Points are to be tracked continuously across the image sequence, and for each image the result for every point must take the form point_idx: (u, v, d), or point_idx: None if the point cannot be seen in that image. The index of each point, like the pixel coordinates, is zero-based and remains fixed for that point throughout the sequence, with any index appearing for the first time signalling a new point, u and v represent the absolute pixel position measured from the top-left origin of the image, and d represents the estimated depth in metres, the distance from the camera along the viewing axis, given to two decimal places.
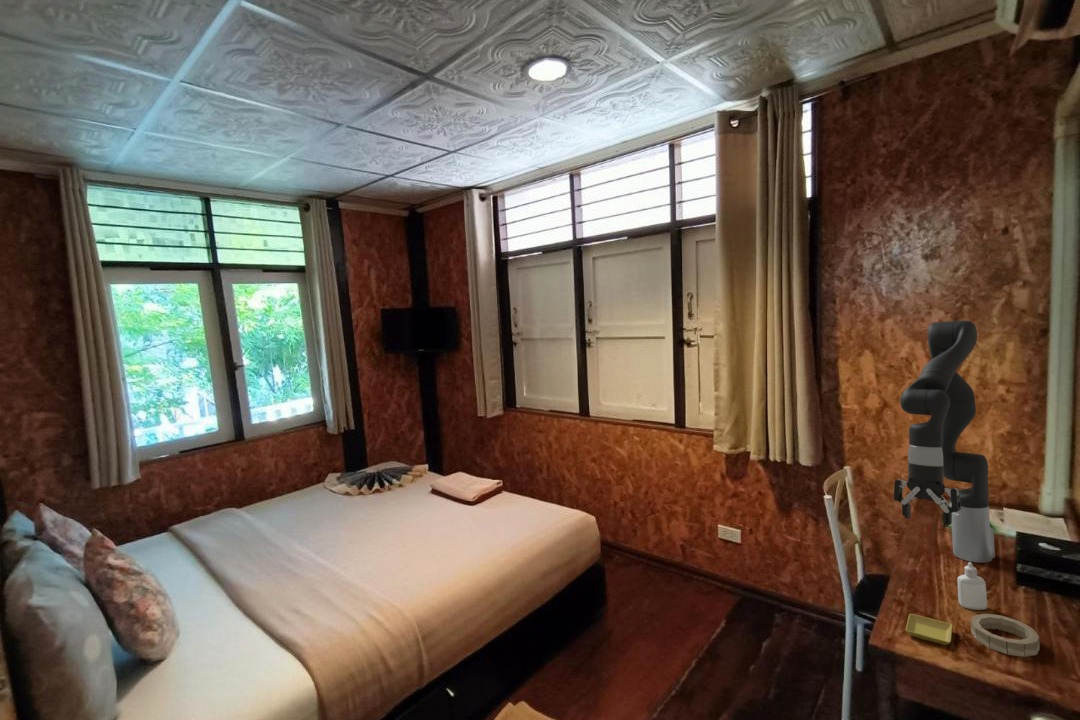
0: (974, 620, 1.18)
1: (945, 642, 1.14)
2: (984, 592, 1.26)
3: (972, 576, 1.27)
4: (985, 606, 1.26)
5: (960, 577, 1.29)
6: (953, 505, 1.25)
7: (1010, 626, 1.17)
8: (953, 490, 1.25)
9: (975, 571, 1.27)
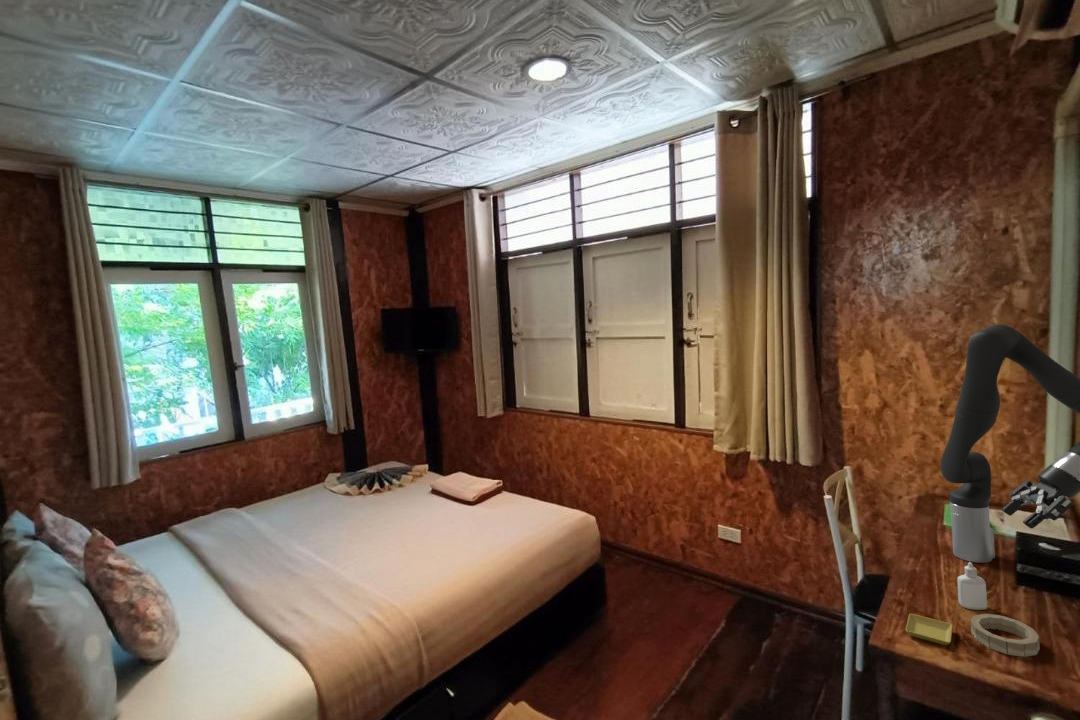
0: (974, 620, 1.18)
1: (945, 642, 1.14)
2: (984, 592, 1.26)
3: (972, 576, 1.27)
4: (985, 606, 1.26)
5: (960, 577, 1.29)
6: None
7: (1010, 626, 1.17)
8: None
9: (975, 571, 1.27)
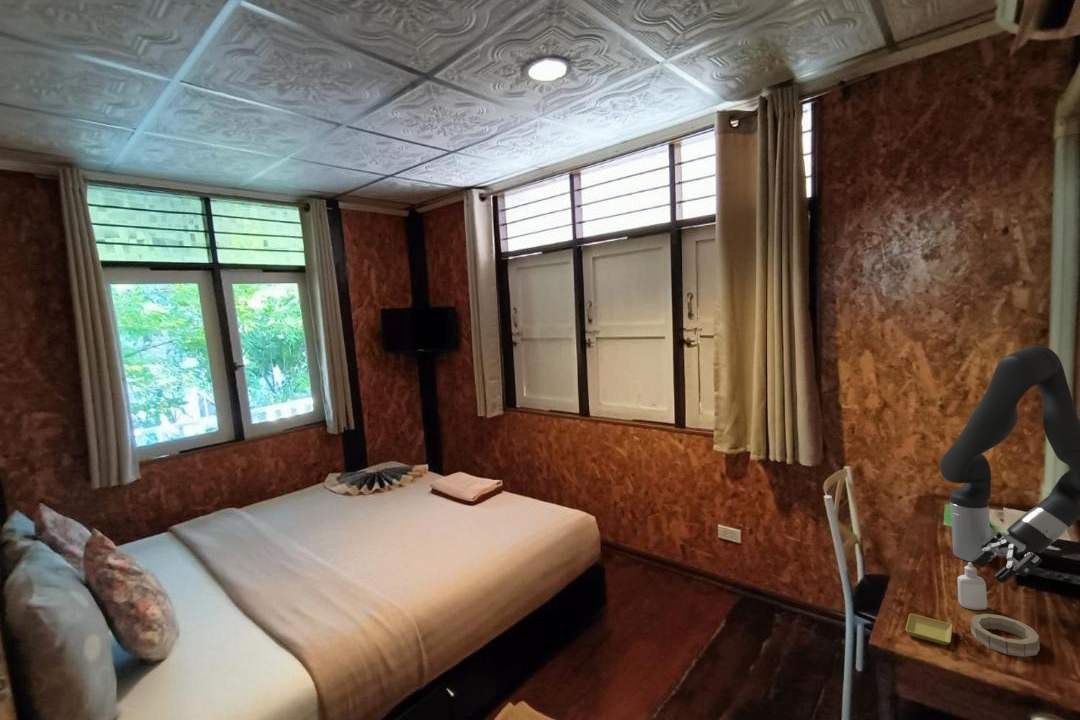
0: (974, 620, 1.18)
1: (945, 642, 1.14)
2: (984, 592, 1.26)
3: (972, 576, 1.27)
4: (985, 606, 1.26)
5: (960, 577, 1.29)
6: None
7: (1010, 626, 1.17)
8: None
9: (975, 571, 1.27)
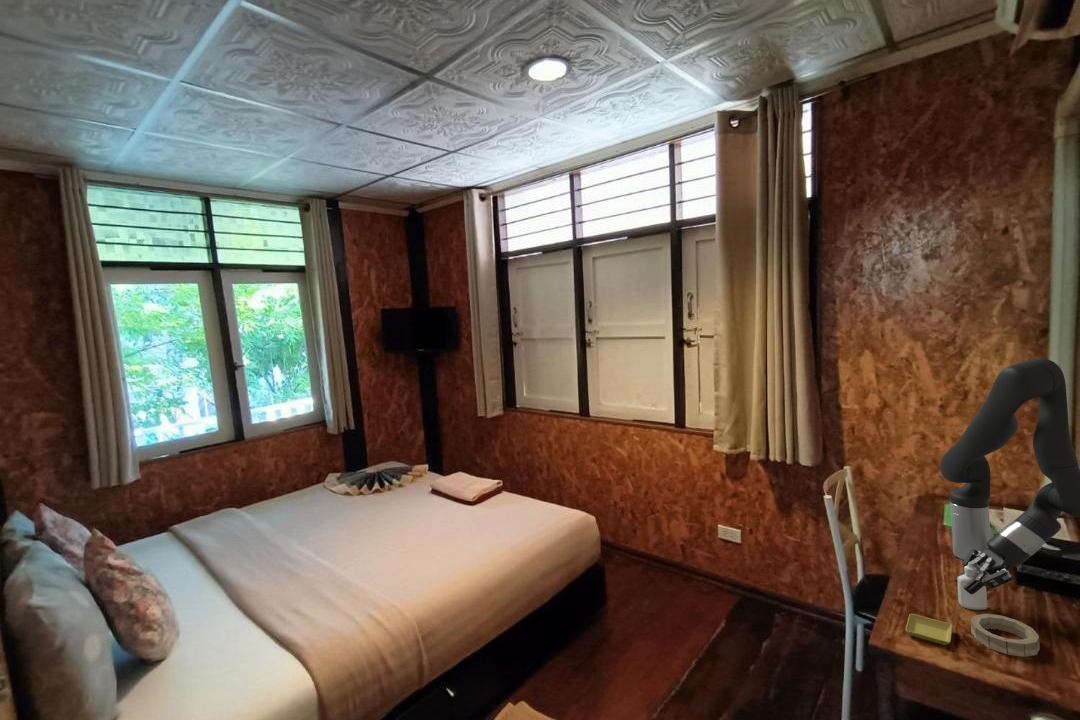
0: (974, 620, 1.18)
1: (945, 642, 1.14)
2: (984, 592, 1.26)
3: (972, 576, 1.27)
4: (985, 606, 1.26)
5: (960, 577, 1.29)
6: None
7: (1010, 626, 1.17)
8: None
9: (975, 571, 1.27)
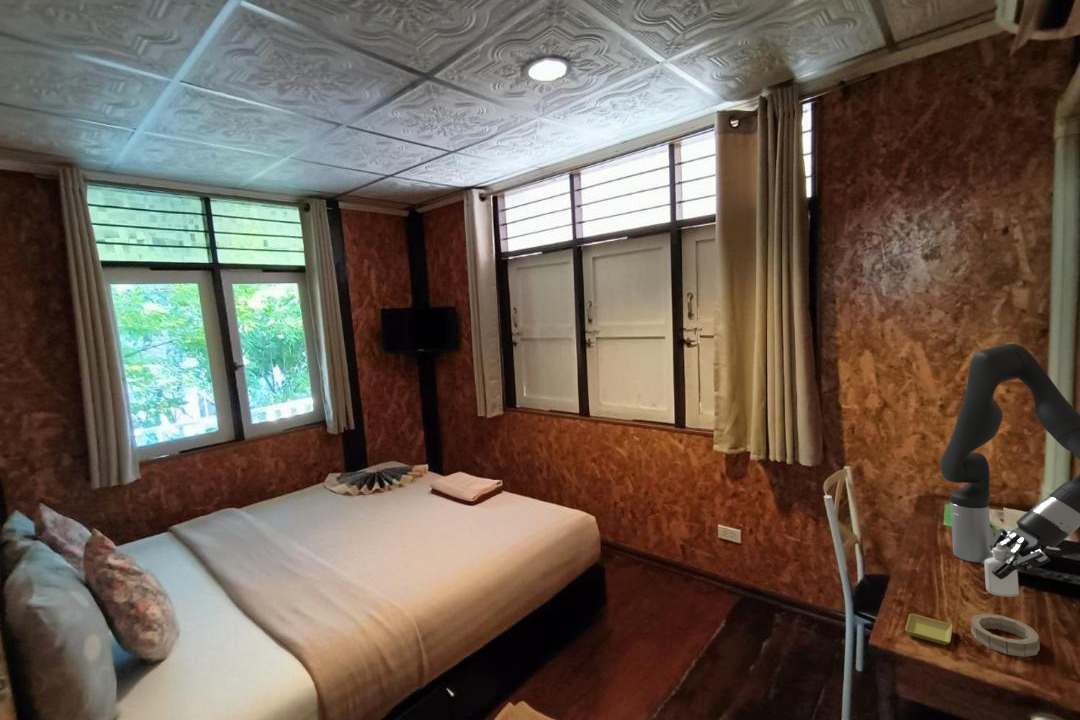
0: (974, 620, 1.18)
1: (945, 642, 1.14)
2: (1015, 577, 1.12)
3: (1001, 559, 1.13)
4: (1016, 592, 1.12)
5: (988, 560, 1.15)
6: None
7: (1010, 626, 1.17)
8: None
9: (1005, 553, 1.13)
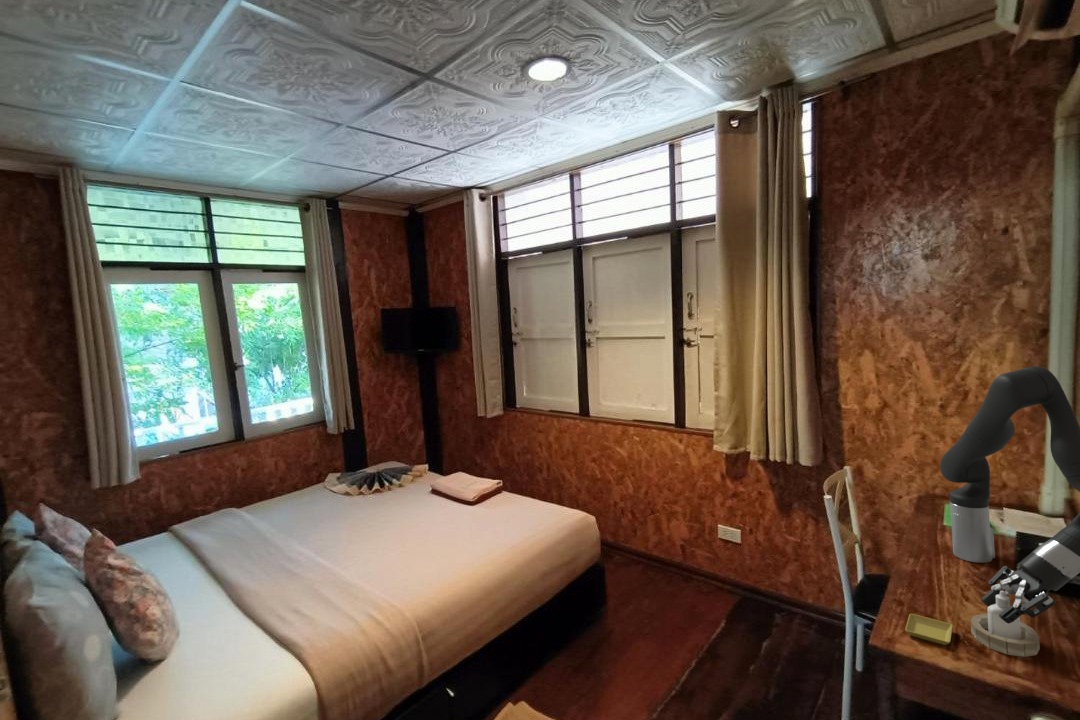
0: (974, 620, 1.18)
1: (944, 642, 1.14)
2: (1018, 625, 1.13)
3: (1004, 607, 1.13)
4: None
5: (991, 607, 1.15)
6: None
7: None
8: None
9: (1008, 601, 1.13)
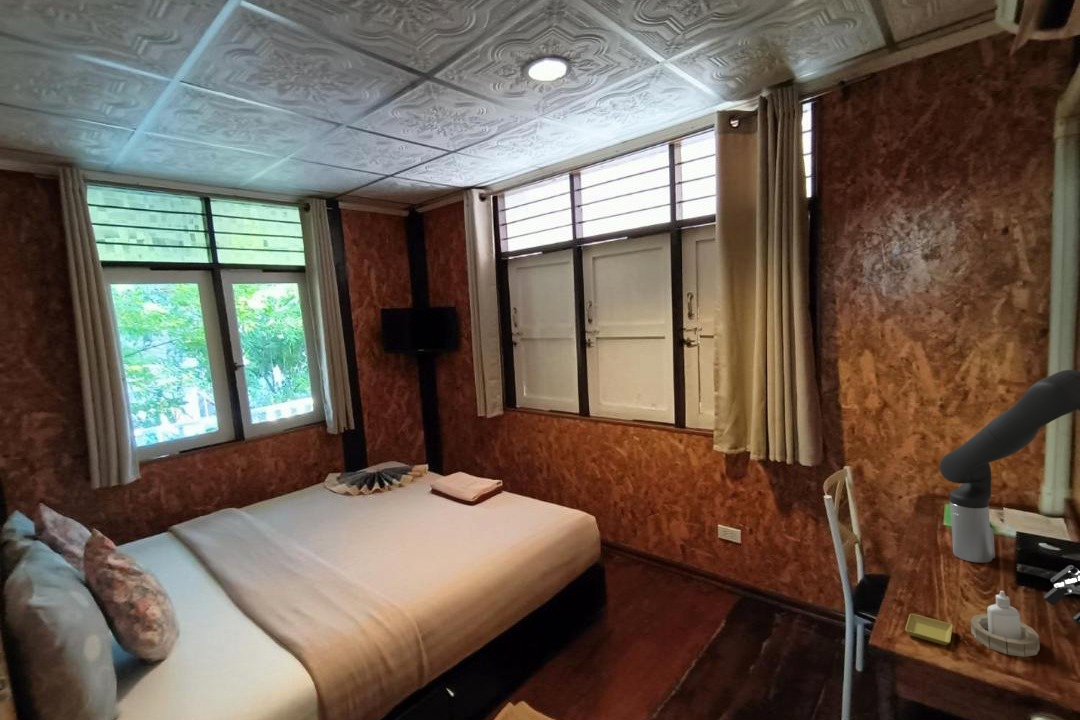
0: (974, 620, 1.18)
1: (944, 642, 1.14)
2: (1018, 625, 1.13)
3: (1004, 607, 1.13)
4: None
5: (991, 607, 1.15)
6: None
7: None
8: None
9: (1008, 601, 1.13)
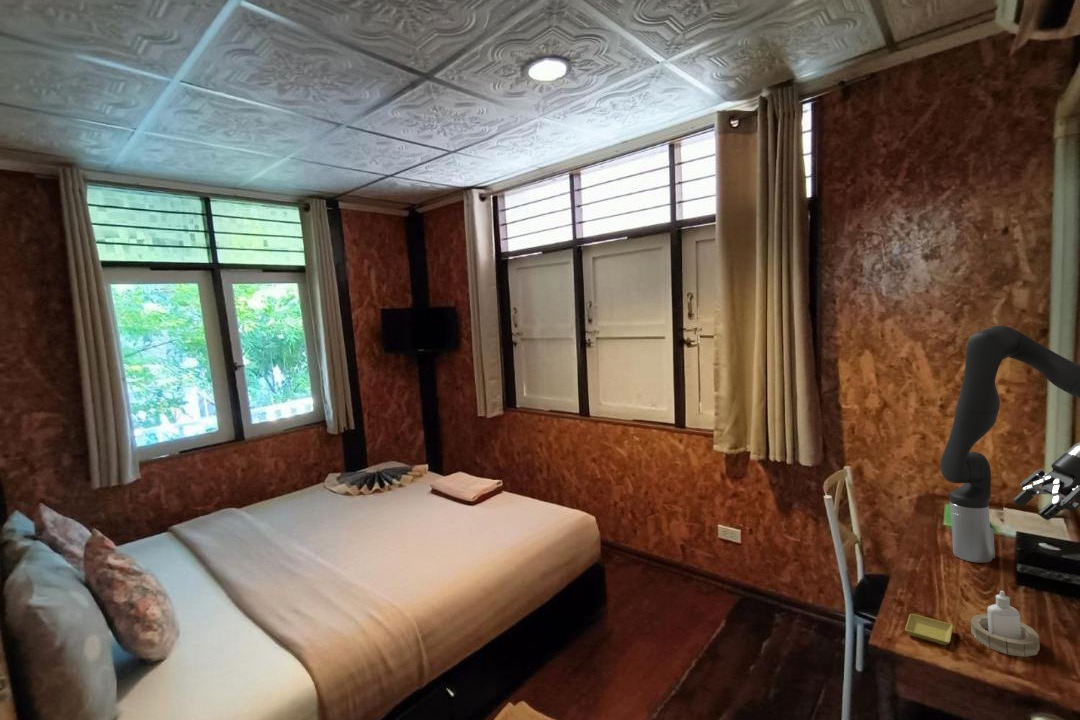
0: (974, 620, 1.18)
1: (944, 642, 1.14)
2: (1018, 625, 1.13)
3: (1004, 607, 1.13)
4: None
5: (991, 607, 1.15)
6: None
7: None
8: None
9: (1008, 601, 1.13)
